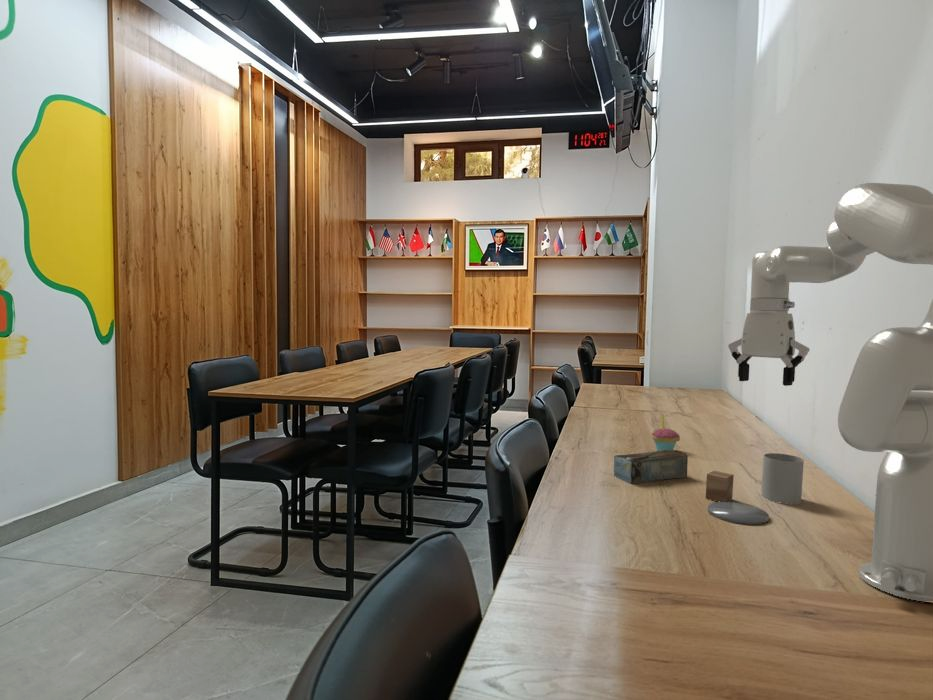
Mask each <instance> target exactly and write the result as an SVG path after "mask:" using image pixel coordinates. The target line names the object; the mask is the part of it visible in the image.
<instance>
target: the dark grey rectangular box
mask: <svg viewBox="0 0 933 700" xmlns="http://www.w3.org/2000/svg"><path fill="white" fill-rule="evenodd" d="M688 458H689V457H688V455H687V454H682V453H680V452H677V451H674V450H673V451H670V450H663V451H658V450H656V451H647V452H640V453H630V454H629V453H628V454H615V455H614V456H613V476H614V477H615V476H616V478H617V477H618V479H619V478H620V479H619V480H622V481H624V482H626V483H628V484H639V483H648V482H650V483H651V482H657V481H658V482H659V481H665V479H666V480H672V479H683V478H688V463H689V462H688V461H689V460H688Z"/></svg>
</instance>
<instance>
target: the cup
mask: <svg viewBox="0 0 933 700" xmlns="http://www.w3.org/2000/svg"><path fill="white" fill-rule="evenodd" d="M762 459H763V460H762V473H761V474H762V475H761V490H760V491H761V492H760V496H761V495H762V496H763V497H764V498H766V499H768V500H767V501H769V500H770V502H772V501H774V502H773V503H776V502H781V503H780V504H782V503H787V504H786V505H798V504H801V502H802V495H803V493H802V492H803V476H804V464H805V463H804V461H805V459H803V458H801V457H800V456H796V455H792V454H787V453H778V452H777V453H776V452H775V453H774V452H773V453H770V452H768V453H764V454H763V458H762ZM762 496H761V497H762ZM763 497H762V498H763ZM764 498H763V499H764ZM766 499H765V500H766Z"/></svg>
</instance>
